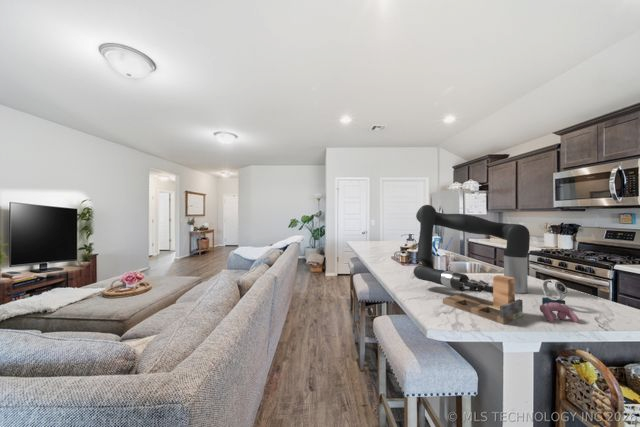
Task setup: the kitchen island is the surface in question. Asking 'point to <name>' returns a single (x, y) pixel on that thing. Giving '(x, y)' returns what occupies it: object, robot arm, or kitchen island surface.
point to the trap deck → (486, 307)
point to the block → (503, 290)
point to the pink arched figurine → (561, 312)
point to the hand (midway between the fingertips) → (496, 290)
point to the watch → (558, 288)
